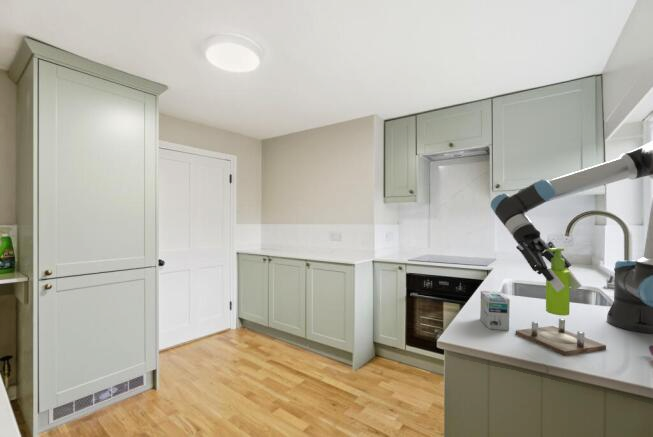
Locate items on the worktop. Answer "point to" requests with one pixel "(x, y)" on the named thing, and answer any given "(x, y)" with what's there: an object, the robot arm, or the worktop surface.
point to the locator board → (560, 339)
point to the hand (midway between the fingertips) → (569, 288)
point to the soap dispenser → (560, 300)
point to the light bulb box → (495, 310)
